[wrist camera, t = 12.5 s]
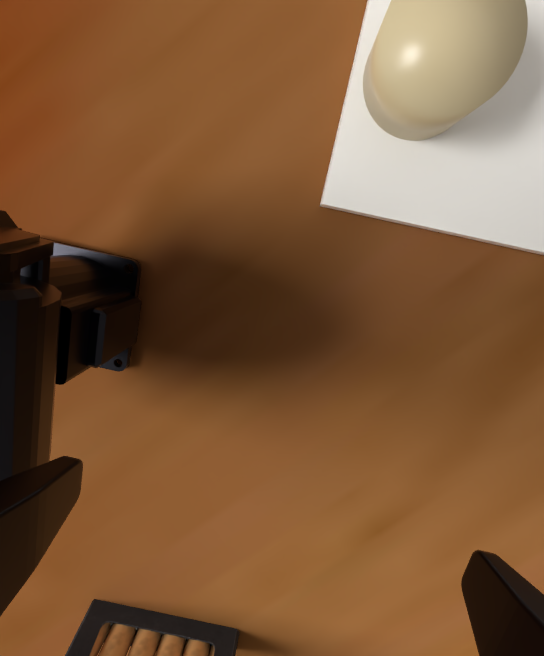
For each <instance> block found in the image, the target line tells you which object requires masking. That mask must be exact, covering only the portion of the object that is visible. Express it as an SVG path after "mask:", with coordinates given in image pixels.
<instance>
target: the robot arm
mask: <svg viewBox="0 0 544 656" xmlns="http://www.w3.org/2000/svg"><path fill="white" fill-rule="evenodd" d="M129 264H131V265H132V266H133V269H134V270H133V272H132V273H131V272H129V270H128V265H129ZM140 274H141V266H140V264H139V262H138V261H136V260H134V259H131V258H126V257H122V256H117V255H112V254H108V253H103V252H99V251H94V250H90V249H85V248H81V247H76V246H72V245H67V244H63V243H58V242H54V241H51V240H47V239H42V238H40V235H37V234H33V233H30V232H26V231H22V229H21V228H18V227H17V226H16V225H15V223H14V222H13V221H12V219H11V218H10V217H9V215H8V214H7V213H6V211H2V210H0V616H1V615H2V613H3V612H4V611H5V609H6V608H7V606H8V605H9V604H10V602H11V601H12V600H13V598H14V597H15V596H16V594H17V593H18V592H19V590H20V589H21V588H22V586H23V585H24V584H25V582H26V581H27V580H28V578H29V577H30V575H31V574H32V573H33V571H34V570H35V568H36V567H37V565H38V564H39V562H40V560H41V559H42V557H43V556H44V554H45V552H46V551H47V549H48V547H49V546H50V544H51V543H52V541H53V539H54V538H55V536H56V534H57V533H58V531H59V529H60V528H61V526H62V525H63V523H64V521H65V520H66V518H67V516H68V515H69V513H70V511H71V510H72V508H73V507H74V505H75V503H76V502H77V500H78V497H79V495H80V490H81V481H82V471H83V463H82V461H81V460H80V459H77V458H72V457H68V456H63V457H60V458H57V459H54V460H52V461H49V459H50V452H51V439H52V424H53V410H54V396H55V384H59V385H61V384H64V383H66V382H67V381H69V380H71V379H72V378H74V377H76V376H77V375H79V374H80V373H82V372H84V371H85V370H87V369H88V368H90V367H94V368H98V367H100V368H105V369H109V370H114V371H123V370H124V369H126V368H127V367H128V366H129V363H130V356H131V347H132V345H133V344H135V343H136V341H137V333H138V325H139V317H140V309H141V300H140V299H139V297H138V291H139V283H140ZM117 359H120V360H121V361H122V365H120V364H118V362H117ZM461 586H462V592H463V596H464V600H465V603H466V607H467V611H468V615H469V619H470V622H471V626H472V630H473V634H474V637H475V641H476V645H477V649H478V652H479V656H544V595H543V594H542V593H541V592H540V591H539V590H538V589H536V588H535V587H534V586H533V585H532V584H531V583H529V582H528V581H527V580H526V579H525V578H523V577H522V576H521V575H520V574H519V573H518V572H516V571H515V570H514V569H513V568H512V567H510V566H509V565H508V564H507V563H506V562H505V561H503V560H502V559H501V558H500V557H499V556H497V555H496V554H494V553H490V552H485V551H481V550H476V551H475V552H473V554H472V556H471V558H470V560H469V563H468V565H467V567H466V570H465V572H464V574H463V577H462V583H461Z"/></svg>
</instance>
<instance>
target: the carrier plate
mask: <svg viewBox="0 0 544 656" xmlns="http://www.w3.org/2000/svg"><path fill="white" fill-rule="evenodd" d="M320 206H322V207H326V208H331V209H335V210H340V211H344V212H349V213H354V214H358V215H363V216H367V217H372V218H376V219H381V220H386V221H390V222H395V223H399V224H404V225H408V226H413V227H418V228H422V229H427V230H431V231H436V232H440V233H445V234H449V235H454V236H459V237H463V238H468V239H472V240H477V241H481V242H486V243H491V244H495V245H500V246H504V247H509V248H513V249H518V250H523V251H527V252H532V253H536V254H541V255H544V0H368V1H367V6H366V10H365V14H364V18H363V23H362V27H361V31H360V36H359V40H358V44H357V48H356V53H355V57H354V61H353V66H352V70H351V74H350V78H349V83H348V87H347V91H346V96H345V100H344V104H343V108H342V113H341V117H340V121H339V126H338V130H337V134H336V138H335V143H334V147H333V151H332V156H331V160H330V164H329V168H328V173H327V177H326V181H325V186H324V190H323V194H322V198H321V203H320Z"/></svg>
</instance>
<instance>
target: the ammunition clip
mask: <svg viewBox="0 0 544 656" xmlns="http://www.w3.org/2000/svg"><path fill="white" fill-rule="evenodd" d="M239 633H240V632H239V631H238V630H237V629H235V628H230V627H225V626H221V625H216V624H211V623H206V622H202V621H197V620H192V619H187V618H183V617H178V616H173V615H168V614H163V613H159V612H154V611H149V610H144V609H140V608H135V607H130V606H125V605H120V604H116V603H111V602H106V601H101V600H97V599H94V600H93V601H92V603H91V605H90V607H89V609H88V611H87V613H86V615H85V617H84V619H83V621H82V623H81V625H80V627H79V629H78V631H77V633H76V635H75V637H74V639H73V641H72V643H71V645H70V647H69V649H68V651H67V653H66V655H65V656H97V655H98V653H99V651H100V649H101V651H100V653H99V655H98V656H126V655H127V652H128V650H129V647H130V646H131V648H130V651H129V653H128V656H235V654H236V649H237V643H238V638H239ZM103 643H104V644H103ZM102 645H103V646H102ZM101 647H102V648H101ZM156 651H157V652H156ZM155 653H156V655H155Z"/></svg>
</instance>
